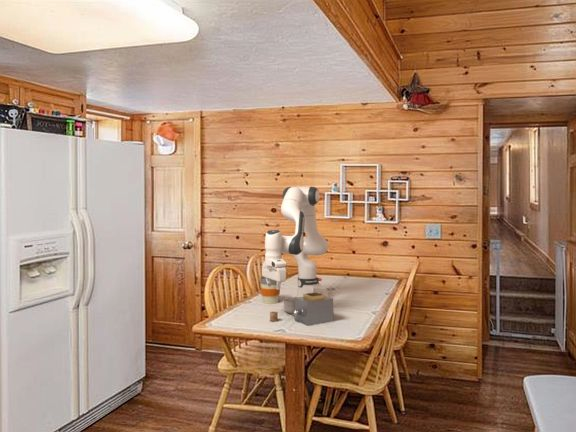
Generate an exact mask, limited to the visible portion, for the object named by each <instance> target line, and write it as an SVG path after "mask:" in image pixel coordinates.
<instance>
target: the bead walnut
mask: <svg viewBox="0 0 576 432" xmlns="http://www.w3.org/2000/svg"><path fill="white" fill-rule="evenodd" d="M278 313H279V312H278V311H270V312H269V322H271V323H277V322H278V320H279V318H278ZM276 321H277V322H276Z"/></svg>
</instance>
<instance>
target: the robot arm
mask: <svg viewBox="0 0 576 432" xmlns="http://www.w3.org/2000/svg"><path fill="white" fill-rule="evenodd" d="M319 201H320V190H319V189H318V188H317V187H316V186H306V185H305V186H304V185H303V186H287V187H286V188H284V190H283V191H282V202H281V205H280V206H281V207H280V212H281V213H280V214H282V216H283V217H284V219H287V221H289V222H293V223H295V229H294V234H293V235H283V234H282V233H281V230H279V229H270V230H268V231H266V233H265V237H264V250H265V254H264V261H263V263H262V266H261V277H266V281H267V286H271V282H270V279H272V280H275V281H277V286H276V289H277V290H279V289H280V290H281V285H282V283H284V282H286V280H287V269H286V268H287V262H286V261H285V260H284V258H283V255H282V254H285V255H286V254H288V255H292V256H293V258H294V259H295V262H296V263H297V271H298V272H297V273H298V277H297V293H296V297H303V294H306V293H314V292H317V293H320V294H323V295H325V296H327V297H330V298H332V296H330V295H329V292H328V289H327V288H326V287H325V286H323V285H322V284H321V283H320V282H322V281H323V278H322V277H318V276H317V265H316V263H315V262H314V261H312V260H311V259H310V258H309V257H308V256H322V255H325V254H326V253H327V251H328V250H329V242H328V240H327V239H326V238H324V237H323V236H322V235H321V233H320V232H319V230H318V227H317V217H316V215H317V214H316V205H317V203H318V202H319ZM304 234H305V235H306V236H305V235H304Z"/></svg>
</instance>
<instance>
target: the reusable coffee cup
mask: <svg viewBox="0 0 576 432" xmlns="http://www.w3.org/2000/svg"><path fill="white" fill-rule="evenodd" d="M270 282H271V286H267V281H266V277H263V276H261V277H260V278H259V283H260V288H259V289H260V295H261V299H262V303H263V304H264V305H276V304H278V303H279V297H280V296H279V295H280V293H281V288H280V289H279V290H277V289H276V286H277V281H275V280H272V279H270Z"/></svg>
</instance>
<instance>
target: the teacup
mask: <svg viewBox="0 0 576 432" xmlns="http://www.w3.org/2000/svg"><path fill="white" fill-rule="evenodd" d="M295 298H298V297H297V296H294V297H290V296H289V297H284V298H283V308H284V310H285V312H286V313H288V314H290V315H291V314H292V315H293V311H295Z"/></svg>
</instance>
